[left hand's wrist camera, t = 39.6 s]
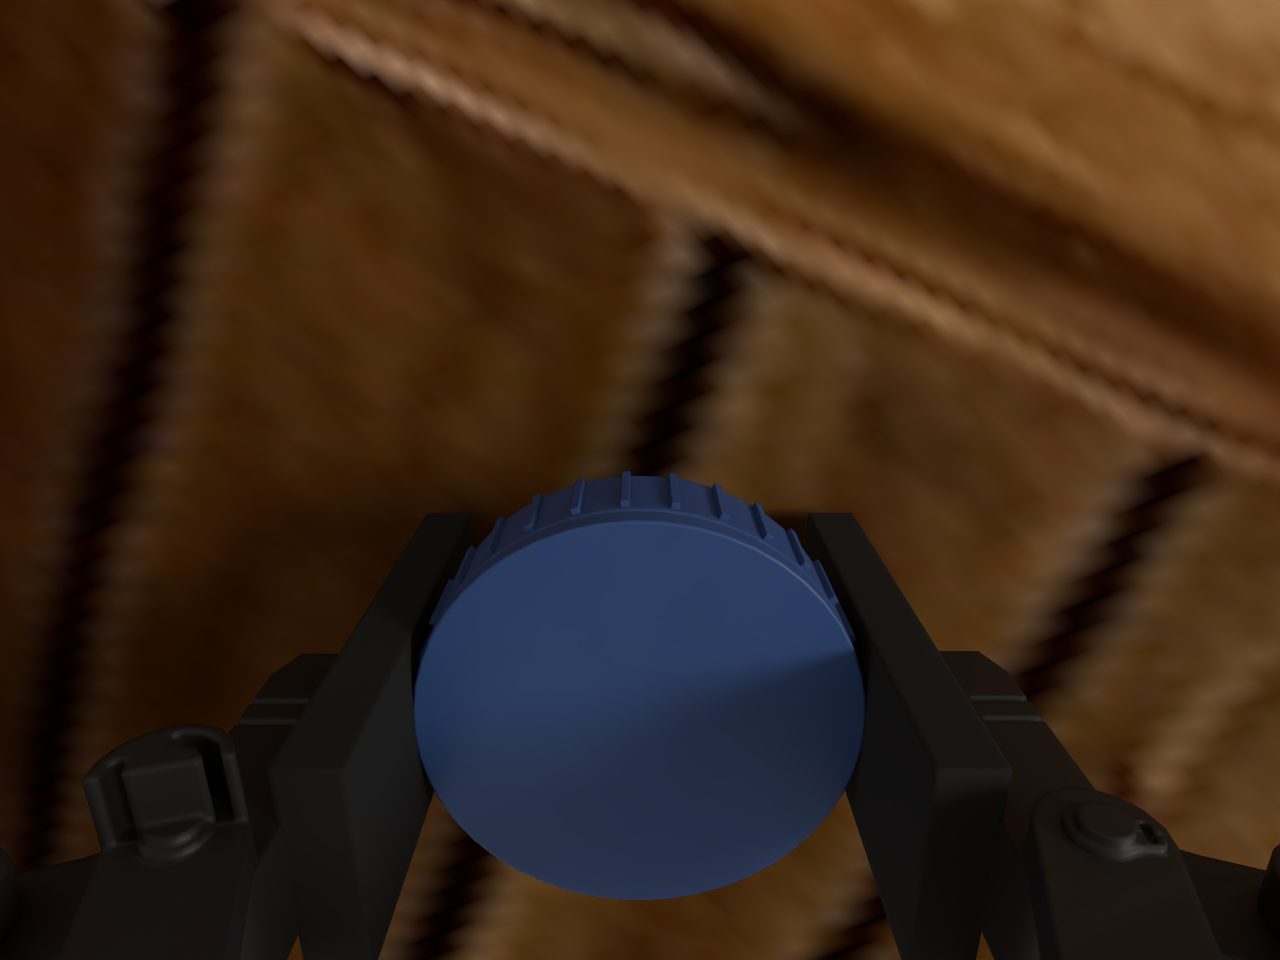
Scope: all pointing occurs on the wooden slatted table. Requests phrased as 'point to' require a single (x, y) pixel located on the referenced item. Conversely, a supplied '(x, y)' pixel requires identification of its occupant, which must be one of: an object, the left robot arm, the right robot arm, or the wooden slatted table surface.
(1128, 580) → the wooden slatted table surface
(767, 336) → the wooden slatted table surface
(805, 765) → the lid
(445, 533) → the left robot arm
